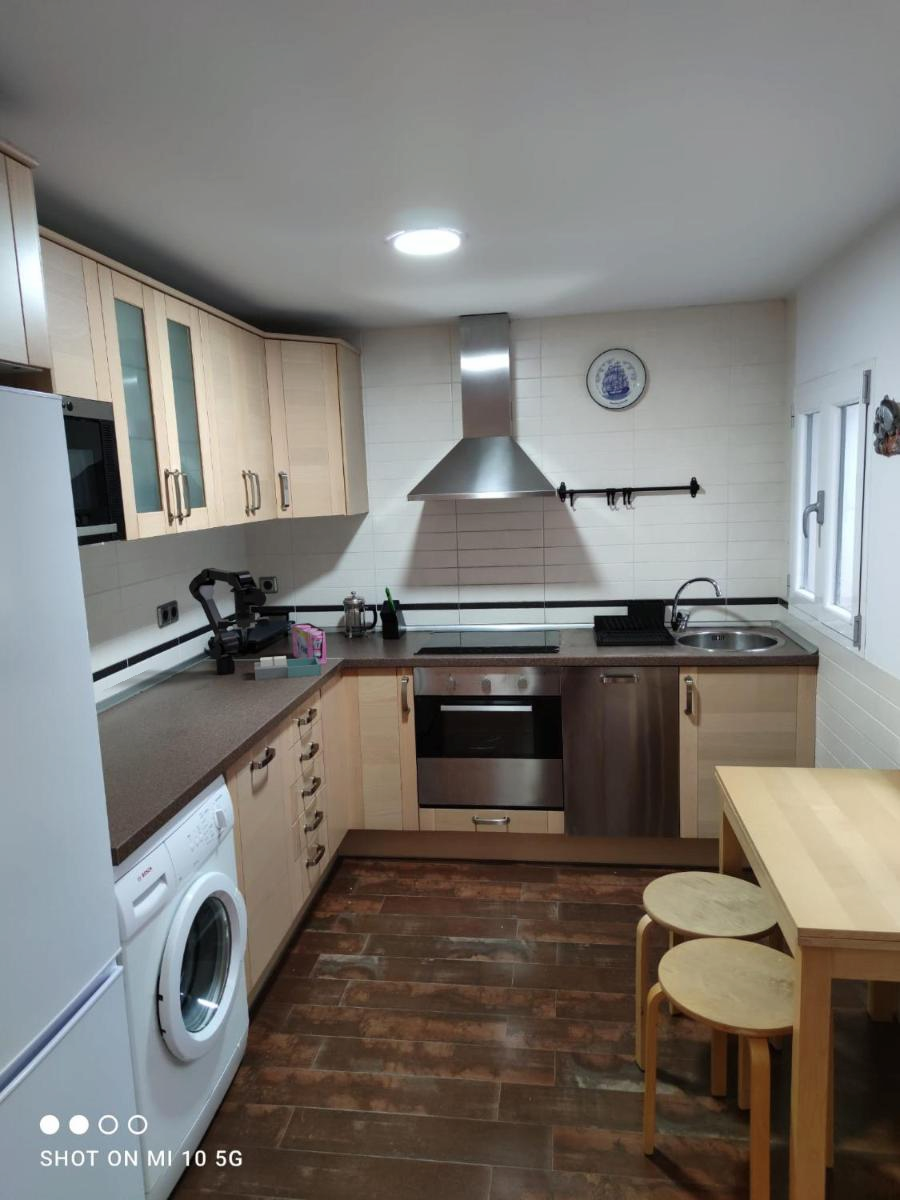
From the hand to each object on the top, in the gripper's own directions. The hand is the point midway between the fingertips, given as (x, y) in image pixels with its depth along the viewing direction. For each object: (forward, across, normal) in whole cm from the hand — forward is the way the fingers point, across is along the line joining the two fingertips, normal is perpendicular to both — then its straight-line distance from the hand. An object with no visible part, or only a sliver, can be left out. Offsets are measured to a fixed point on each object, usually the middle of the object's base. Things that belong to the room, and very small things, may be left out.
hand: (245, 645), depth 293 cm
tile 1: (+8, +8, 0) cm, 11 cm away
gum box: (+12, +25, +22) cm, 36 cm away
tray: (+12, +21, 0) cm, 24 cm away
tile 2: (+8, +12, 0) cm, 15 cm away
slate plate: (+12, +9, 0) cm, 15 cm away
